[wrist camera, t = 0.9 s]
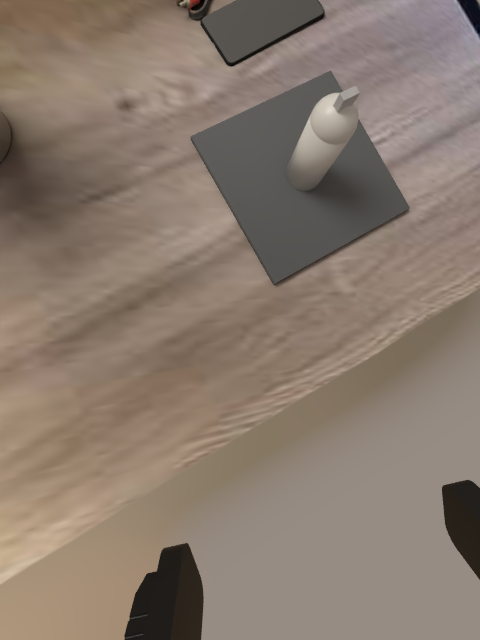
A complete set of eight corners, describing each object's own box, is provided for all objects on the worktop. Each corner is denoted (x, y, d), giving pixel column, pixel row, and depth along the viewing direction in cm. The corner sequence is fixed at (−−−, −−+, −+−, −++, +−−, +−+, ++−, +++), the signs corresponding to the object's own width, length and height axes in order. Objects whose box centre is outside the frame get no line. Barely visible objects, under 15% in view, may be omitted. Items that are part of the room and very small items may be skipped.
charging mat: (190, 139, 38) (190, 136, 37) (328, 74, 40) (330, 70, 39) (273, 284, 37) (274, 283, 37) (406, 210, 40) (409, 208, 39)
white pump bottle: (279, 165, 38) (314, 80, 26) (309, 150, 38) (358, 59, 26) (297, 197, 38) (341, 127, 25) (327, 181, 38) (384, 105, 26)
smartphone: (198, 18, 38) (297, -33, 40) (198, 26, 39) (295, -25, 41) (229, 65, 38) (327, 12, 40) (229, 71, 39) (324, 19, 41)
